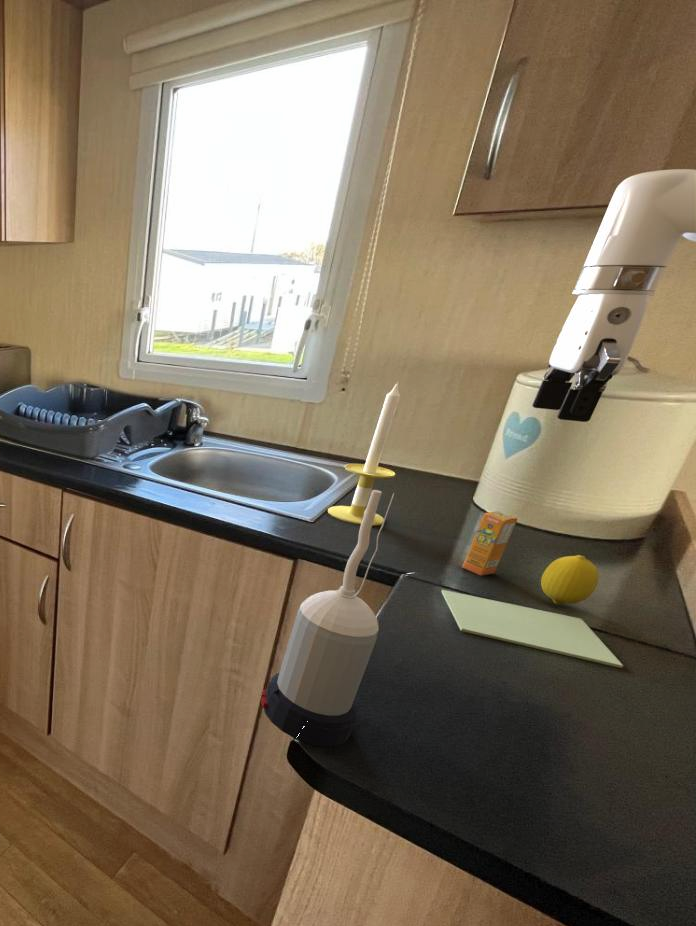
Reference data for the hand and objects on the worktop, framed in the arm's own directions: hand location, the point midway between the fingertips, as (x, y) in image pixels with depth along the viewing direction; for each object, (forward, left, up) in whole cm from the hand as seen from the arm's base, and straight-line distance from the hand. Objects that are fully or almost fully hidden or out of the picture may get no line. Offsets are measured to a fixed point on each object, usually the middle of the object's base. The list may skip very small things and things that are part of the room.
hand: (558, 414), depth 78 cm
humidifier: (+27, +51, -26) cm, 64 cm away
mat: (0, +16, -26) cm, 31 cm away
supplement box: (+1, -2, -26) cm, 27 cm away
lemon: (-7, +6, -26) cm, 28 cm away
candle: (+17, -20, -26) cm, 37 cm away
